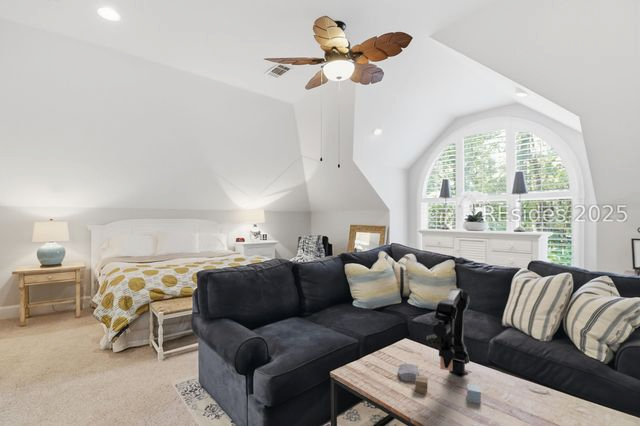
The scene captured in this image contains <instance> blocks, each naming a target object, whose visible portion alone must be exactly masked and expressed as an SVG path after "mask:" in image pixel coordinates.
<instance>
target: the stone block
mask: <svg viewBox="0 0 640 426" xmlns="http://www.w3.org/2000/svg"><path fill="white" fill-rule="evenodd" d="M397 372H398V376H399V378H400V379H401V380H402V381H406V382H415V380H416V375H417V376H420V371H419V366H418V364H414V363H413V364H412V363H402V364H399V367H398V371H397Z"/></svg>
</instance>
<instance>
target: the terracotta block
mask: <svg viewBox="0 0 640 426" xmlns="http://www.w3.org/2000/svg"><path fill="white" fill-rule="evenodd" d="M439 358H440V359H439V361H440V365H439V368H440V370H444V371H445V370H446V371H449V370H450V371H452V366H453V359H452V360H451V362H450V364H449V366H448V368H445V365H444V360H443V357H440V356H439Z"/></svg>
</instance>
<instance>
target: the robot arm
mask: <svg viewBox="0 0 640 426" xmlns="http://www.w3.org/2000/svg"><path fill="white" fill-rule="evenodd" d="M470 299H471V298H470V295H469V293H467V292H465V291H464V290H463V289H462V288H455V287H453V288H450V292H449V294H448V295H447V297H446V298H445V299H441V300H439V302H438V303H437V304H436V305H437V306H436V310H435V314H434V319H437V322H436V324H435V325H434V326H433V328H432V331H433V334H429V335H426V341H427V342H426V344H428V346H429V347H432V346H434V345H438V346H439V348H438V356H439V358H440V357H443V360H444V365H445V368H448V366H449V364H450V362H451V360H452V359H453V366H452V371H450V370H448V371H449V373H452V374H454V375H456V376H458V377H463V376H465V375H467V374H468V371H467V370H466V365H467V364H470V358H469V357H470V356H469V354H468V351H467V346H466V344H465V342H464V331H465V330H464V328H465V311H466V310H467V309H468V307H469V305H470V303H471V302H470V301H471V300H470Z"/></svg>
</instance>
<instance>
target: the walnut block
mask: <svg viewBox="0 0 640 426" xmlns="http://www.w3.org/2000/svg"><path fill="white" fill-rule="evenodd" d="M414 383H415V393H416V392H418V393H422V394H428V387H429V386H428V385H429V384H428V377H427V376H424V375H423V376H422V375H419V376H417V375H416V380H415V381H414Z"/></svg>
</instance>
